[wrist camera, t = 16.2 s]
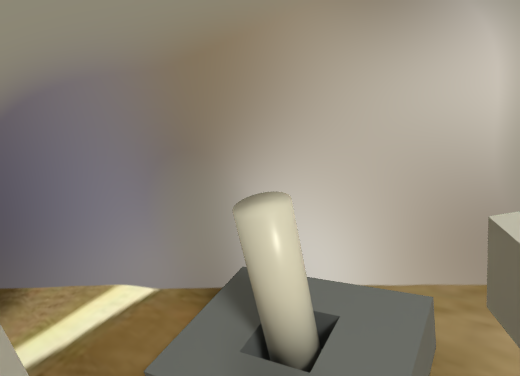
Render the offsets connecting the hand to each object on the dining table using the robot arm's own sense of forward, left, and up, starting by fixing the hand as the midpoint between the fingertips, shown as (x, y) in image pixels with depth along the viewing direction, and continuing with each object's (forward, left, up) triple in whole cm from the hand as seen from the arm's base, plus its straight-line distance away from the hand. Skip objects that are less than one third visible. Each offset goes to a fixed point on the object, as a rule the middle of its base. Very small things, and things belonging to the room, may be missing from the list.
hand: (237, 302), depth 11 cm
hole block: (-8, +14, -20) cm, 26 cm away
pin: (-8, +13, -19) cm, 25 cm away
